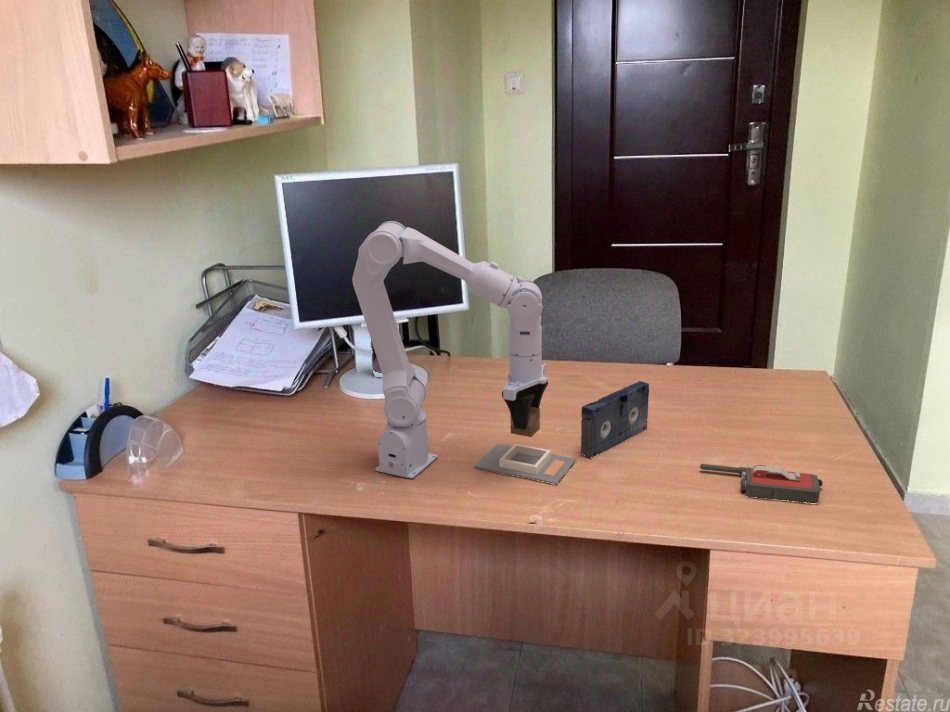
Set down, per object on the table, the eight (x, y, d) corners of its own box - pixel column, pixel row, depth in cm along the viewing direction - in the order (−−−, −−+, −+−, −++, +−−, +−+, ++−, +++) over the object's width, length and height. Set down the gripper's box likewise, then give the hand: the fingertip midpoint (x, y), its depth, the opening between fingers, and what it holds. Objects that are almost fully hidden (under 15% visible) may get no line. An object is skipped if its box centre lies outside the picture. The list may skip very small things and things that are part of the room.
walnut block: (531, 437, 138) (531, 416, 137) (510, 433, 140) (510, 412, 138) (539, 428, 141) (539, 408, 140) (519, 425, 143) (519, 404, 142)
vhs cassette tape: (637, 426, 158) (639, 380, 155) (649, 430, 156) (652, 383, 153) (578, 454, 146) (579, 405, 143) (590, 460, 144) (591, 410, 141)
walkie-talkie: (819, 483, 134) (699, 470, 140) (823, 460, 133) (701, 448, 139) (826, 508, 127) (698, 493, 132) (829, 484, 125) (700, 470, 131)
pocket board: (556, 485, 135) (556, 475, 135) (474, 468, 142) (474, 458, 141) (576, 461, 144) (576, 451, 143) (497, 446, 150) (497, 436, 150)
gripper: (530, 368, 128) (530, 443, 132) (561, 342, 140) (560, 412, 144) (491, 362, 131) (492, 436, 135) (525, 337, 143) (525, 406, 147)
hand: (525, 423), depth 140 cm, fingers closed on walnut block, 4 cm apart
